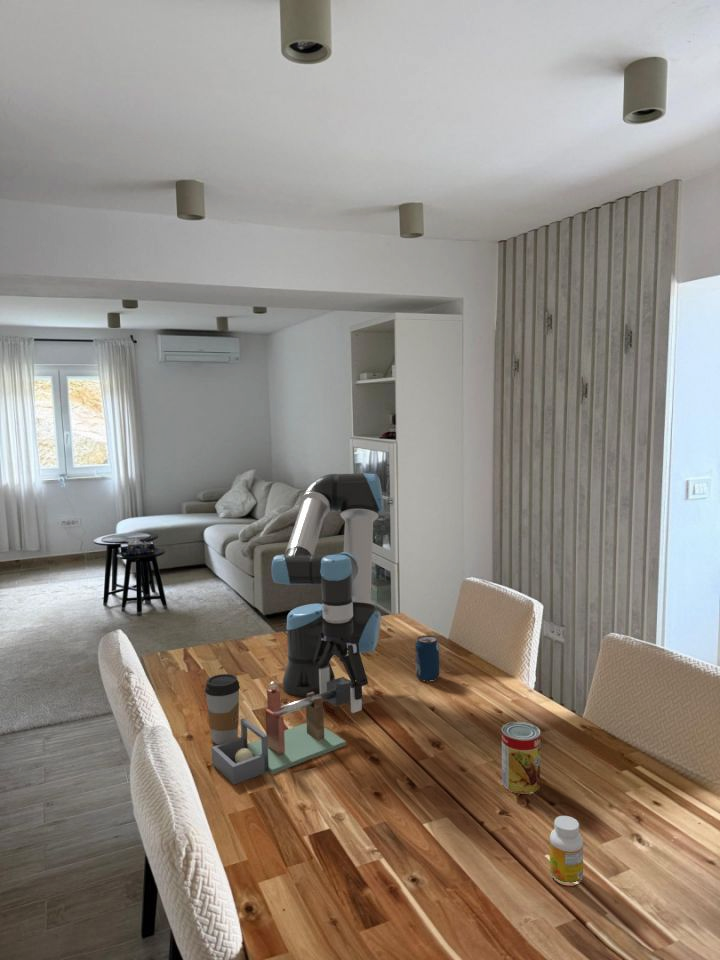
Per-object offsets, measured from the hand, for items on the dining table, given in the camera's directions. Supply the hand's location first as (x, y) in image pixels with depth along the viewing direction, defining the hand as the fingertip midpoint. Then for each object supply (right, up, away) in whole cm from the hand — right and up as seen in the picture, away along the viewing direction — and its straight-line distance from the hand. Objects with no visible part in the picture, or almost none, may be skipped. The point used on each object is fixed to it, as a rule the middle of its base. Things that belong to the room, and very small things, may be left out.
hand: (340, 701), depth 167 cm
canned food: (+39, -9, -25) cm, 47 cm away
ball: (-21, -8, -15) cm, 27 cm away
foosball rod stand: (-7, -7, -5) cm, 11 cm away
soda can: (+25, -4, +32) cm, 40 cm away
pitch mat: (-11, -8, -7) cm, 15 cm away
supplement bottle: (+40, -12, -53) cm, 68 cm away
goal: (-22, -10, -16) cm, 28 cm away
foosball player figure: (-6, -8, -4) cm, 11 cm away
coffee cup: (-28, -9, -2) cm, 30 cm away
